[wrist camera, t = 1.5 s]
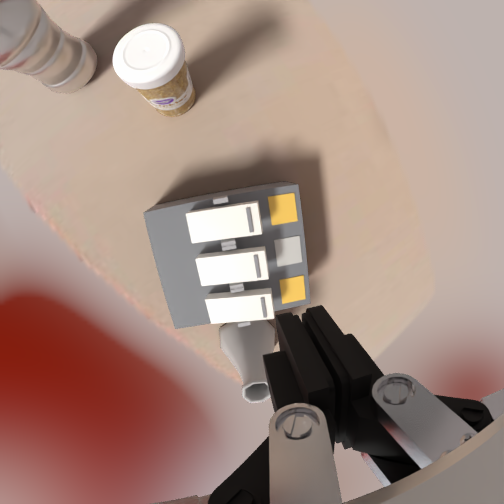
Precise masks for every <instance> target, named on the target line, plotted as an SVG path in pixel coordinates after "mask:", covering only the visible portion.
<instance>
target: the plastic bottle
mask: <svg viewBox="0 0 504 504" xmlns="http://www.w3.org/2000/svg"><path fill="white" fill-rule="evenodd" d="M96 66H97V56H96V53H95V51H94V49H93V48H92V46H91V45H90V44H89V43H87V42H86V41H84V40H82V39H80V38H77V37H74V36H72V35H70V34H68V33H67V32H65V31H63V30H62V29H61V28H60V27H59V26H58V25H57V24H56V23H55V22H54V21H52V20H51V19H50V17H49V16H48V15H47V13H46V12H45V11H44V10H43V8H42V7H41V6H40V4H39V3H38V2H37V1H36V0H0V69H3V70H12V71H17V72H20V73H24V74H27V75H30V76H31V77H33V78H35V79H37V80H38V81H40V82H41V83H42V84H43V85H45V86H46V87H47V88H49V89H50V90H51V91H53V92H56V93H72V92H75V91H77V90H79V89H81V88H82V87H83V86H85V85H86V84H87V83H88V82H89V80H90V79H91V78H92V76H93V74H94V72H95V70H96Z"/></svg>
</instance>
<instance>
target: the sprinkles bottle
mask: <svg viewBox="0 0 504 504" xmlns="http://www.w3.org/2000/svg"><path fill="white" fill-rule="evenodd" d="M113 67H114V69H115V72H116V73H117V74H118V76H119V77H120V78H121V79H122V80H123V81H124V82H125V83H126V84H128V85H129V86H131V87H133V88H136V89H137V90H138V91H139V92H140V93H141V94H142V96H143V97H144V98H145V99H146V100H147V101H148V102H149V103H150V104H151V105H152V106H154V107H155V108H156V110H157V111H158V112H159V113H160V114H162V115H165V116H170V117H175V116H179V115H182V114H184V113H185V112H186V111H188V110H189V109H190V108H191V106H192V105H193V103H194V100H195V90H194V87H193V85H192V81H191V77H190V74H189V70H188V67H187V64H186V61H185V49H184V45H183V42H182V39H181V37H180V35H179V34H178V32H177V31H176V30H175V29H173V28H172V27H170V26H168V25H165V24H161V23H149V24H144V25H141V26H138V27H136V28H134V29H132V30H131V31H129V32H128V33H127V34H126V35H125V36H123V38H122V39H121V40H120V41H119V43H118V44H117V46H116V48H115V50H114V54H113Z"/></svg>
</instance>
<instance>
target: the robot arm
mask: <svg viewBox="0 0 504 504" xmlns="http://www.w3.org/2000/svg"><path fill="white" fill-rule="evenodd" d="M276 325H277V332H278V339H279V347H280V351H278V352H274V353H269V354H264V355H262V356H263V362H264V368H265V373H266V378H267V383H268V388H269V392H270V396H271V400H272V404H273V408H274V411H275V413H274V414H273V416H272V417H271V419H270V423H269V436H268V437H267V439H266V440H265V441H264V442H263V443H262V444H261V445H260V446H259V447H258V448H257V450H255V451H254V452H253V453H252V454H251V456H249V457H248V459H247V460H246V461H245V462H244V463H243V464H242V465H241V466H240V467H239V468H237V469H236V470H235V471H234V472H233V473H232V474H231V475H230V476H229V477H228V478H227V479H226V480H225V481H224V482H223V483H222V484H221V485H220V486H218V487H217V488H216V489H215V490H214V491H213V493H212V494H210V495H206V496H202V497H198V496H197V495H195V496H191V497H186V498H181V499H176V500H171V501H165V502H160V503H153V504H504V389H502V390H500V391H497V392H495V393H493V394H491V395H488V396H486V397H484V398H482V399H481V401H480V402H479V401H476V400H469V399H461V398H453V397H446V396H439V395H433V394H432V393H431V392H429V390H427V389H426V388H425V387H424V386H423V385H421V384H420V383H419V382H418V381H417V380H416V379H414V378H413V377H411V376H409V375H406V374H400V373H393V374H388V375H385V376H384V374H383V373H382V372H381V371H380V369H379V368H378V367H377V366H376V364H375V363H374V361H373V360H372V359H371V357H370V356H369V355H368V354H367V352H366V351H365V350H364V348H363V347H362V346H361V345H360V343H359V342H358V341H357V339H356V338H355V337H354V336H353V335H352V334H347V335H344V334H343V333H342V331H341V330H340V328H339V327H338V326H337V324H336V323H335V322H334V320H333V319H332V318H331V316H330V315H329V314H328V312H327V311H326V310H325V308H324V307H323V306H322V305H320V306H316V307H312V308H307V309H306V313H303V314H302V322H301V320H300V318H299V316H298V315H294V316H293V315H292V313H291V312H289V313H285V314H280V315H276ZM335 442H336V443H340V442H342V444H343V447H344V449H348V448H351V447H352V448H353V450H356V451H359V452H361V456H362V458H363V459H364V461H365V462H366V463H367V465H368V466H369V467H370V469H371V470H372V471H373V473H374V474H375V475H376V477H377V478H378V479H379V481H380V482H381V483H382V484H383V486H384V488H381V489H379V490H377V491H374V492H372V493H369V494H366V495H364V496H361V497H358V498H356V499H353V500H350V501H348V502H344V503H342V499H341V493H340V488H339V482H338V477H337V472H336V467H335V461H334V456H333V454H334V444H335Z"/></svg>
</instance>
